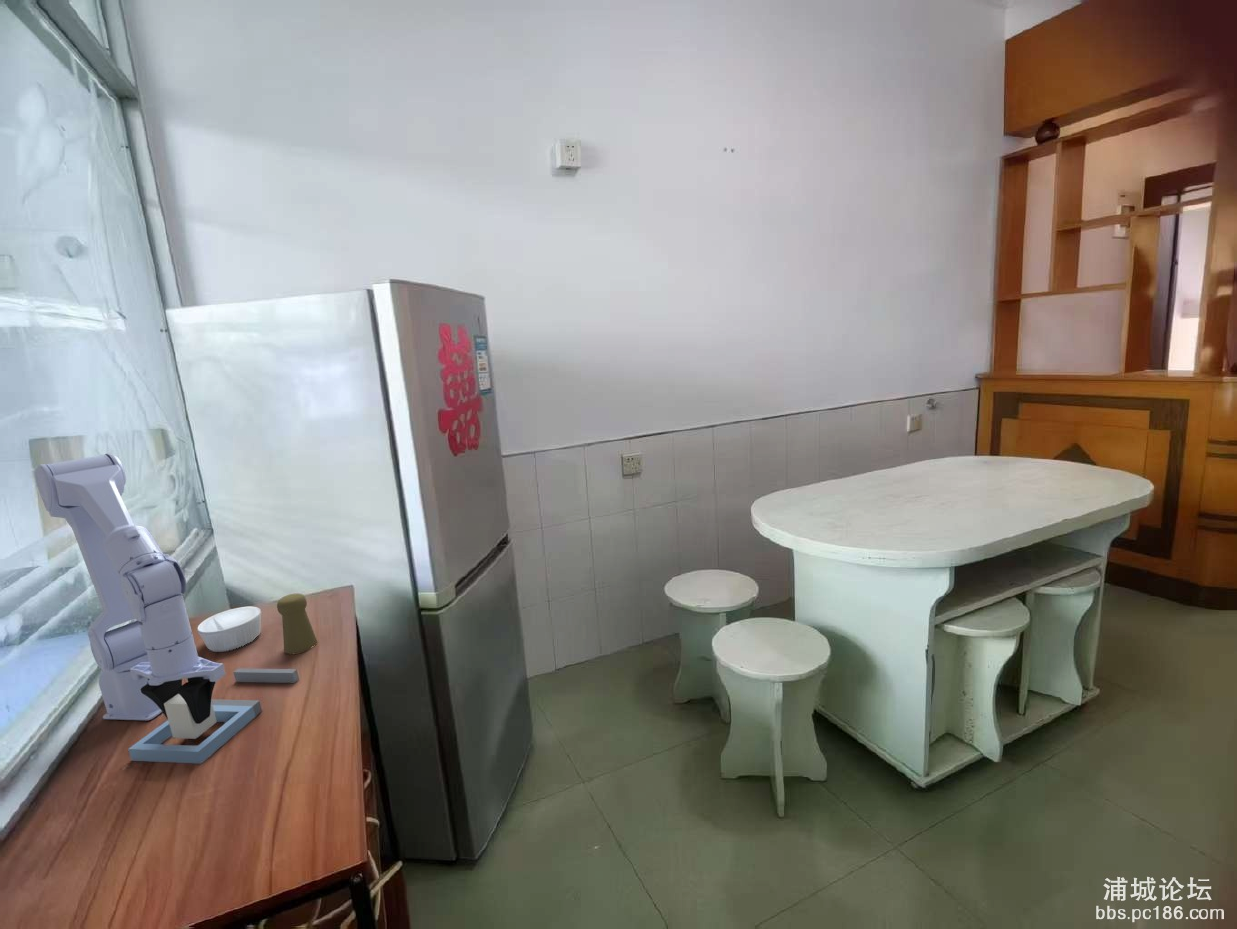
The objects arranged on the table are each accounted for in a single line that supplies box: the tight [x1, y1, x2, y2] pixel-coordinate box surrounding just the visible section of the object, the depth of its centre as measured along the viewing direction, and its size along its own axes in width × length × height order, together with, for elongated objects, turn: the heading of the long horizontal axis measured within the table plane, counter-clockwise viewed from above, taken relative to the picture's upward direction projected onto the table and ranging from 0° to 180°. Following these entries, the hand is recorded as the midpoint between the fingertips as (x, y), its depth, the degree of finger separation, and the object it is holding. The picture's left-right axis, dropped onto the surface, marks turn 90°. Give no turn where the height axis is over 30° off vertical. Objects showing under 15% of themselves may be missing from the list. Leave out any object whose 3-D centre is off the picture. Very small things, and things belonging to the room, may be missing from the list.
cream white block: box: [164, 694, 218, 740], centre depth 91 cm, size 4×4×6 cm
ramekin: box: [196, 605, 262, 653], centre depth 122 cm, size 11×11×5 cm
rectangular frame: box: [128, 667, 300, 764], centre depth 97 cm, size 12×21×2 cm, turn 171°
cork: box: [276, 593, 318, 655], centre depth 117 cm, size 6×6×11 cm
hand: (190, 719), depth 91 cm, fingers closed on cream white block, 4 cm apart
